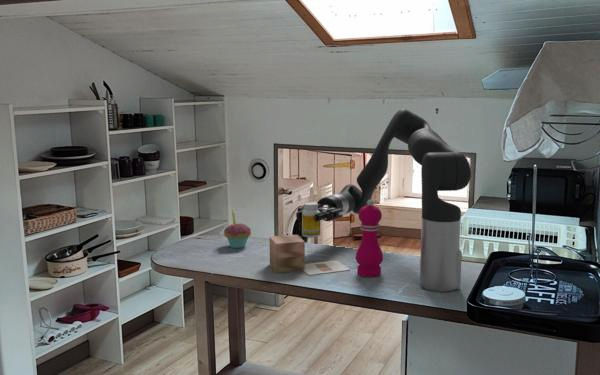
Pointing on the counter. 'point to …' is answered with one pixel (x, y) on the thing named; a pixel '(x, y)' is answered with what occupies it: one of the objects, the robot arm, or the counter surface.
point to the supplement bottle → (310, 220)
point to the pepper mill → (369, 242)
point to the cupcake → (237, 234)
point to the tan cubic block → (287, 253)
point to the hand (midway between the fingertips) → (306, 216)
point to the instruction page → (324, 267)
